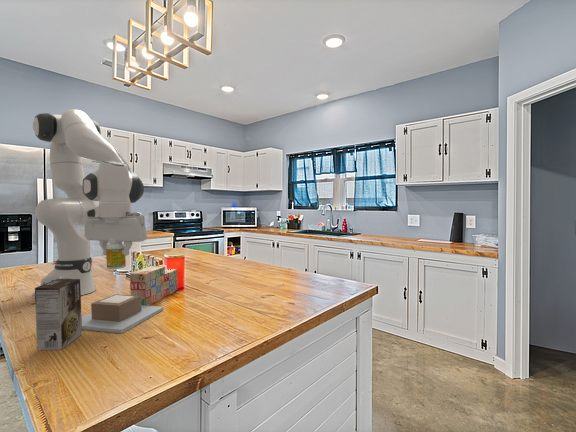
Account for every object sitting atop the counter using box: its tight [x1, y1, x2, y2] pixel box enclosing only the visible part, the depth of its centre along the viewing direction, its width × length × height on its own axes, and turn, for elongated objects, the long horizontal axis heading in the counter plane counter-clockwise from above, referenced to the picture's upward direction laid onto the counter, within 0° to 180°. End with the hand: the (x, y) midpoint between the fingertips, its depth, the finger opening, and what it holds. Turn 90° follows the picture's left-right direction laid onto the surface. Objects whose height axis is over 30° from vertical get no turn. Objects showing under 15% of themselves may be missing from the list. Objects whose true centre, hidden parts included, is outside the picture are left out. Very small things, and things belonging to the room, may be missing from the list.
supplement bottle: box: [105, 238, 127, 270], centre depth 100 cm, size 5×5×10 cm
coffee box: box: [34, 279, 83, 351], centre depth 83 cm, size 9×6×16 cm
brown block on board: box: [81, 294, 165, 334], centre depth 100 cm, size 20×20×6 cm
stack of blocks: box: [129, 265, 178, 306], centre depth 122 cm, size 21×6×12 cm, turn 169°
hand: (116, 254), depth 100 cm, fingers closed on supplement bottle, 5 cm apart
